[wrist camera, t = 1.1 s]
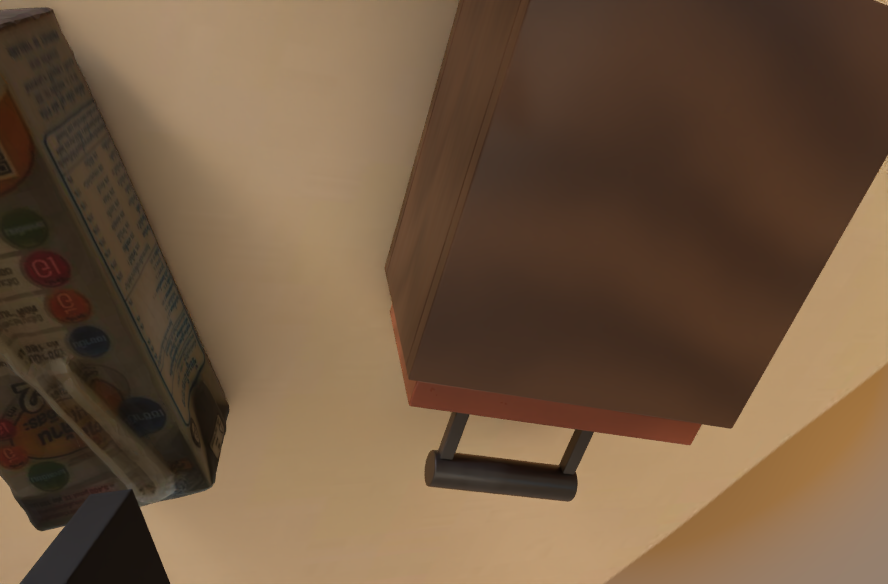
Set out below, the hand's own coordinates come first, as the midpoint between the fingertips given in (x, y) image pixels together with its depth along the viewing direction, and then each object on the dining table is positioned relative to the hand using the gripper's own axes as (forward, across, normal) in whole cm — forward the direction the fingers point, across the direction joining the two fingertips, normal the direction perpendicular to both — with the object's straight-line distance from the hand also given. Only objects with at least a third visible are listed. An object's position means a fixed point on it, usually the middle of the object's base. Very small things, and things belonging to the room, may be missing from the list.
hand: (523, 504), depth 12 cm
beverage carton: (+18, -18, +1) cm, 25 cm away
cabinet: (+22, +4, +2) cm, 22 cm away
